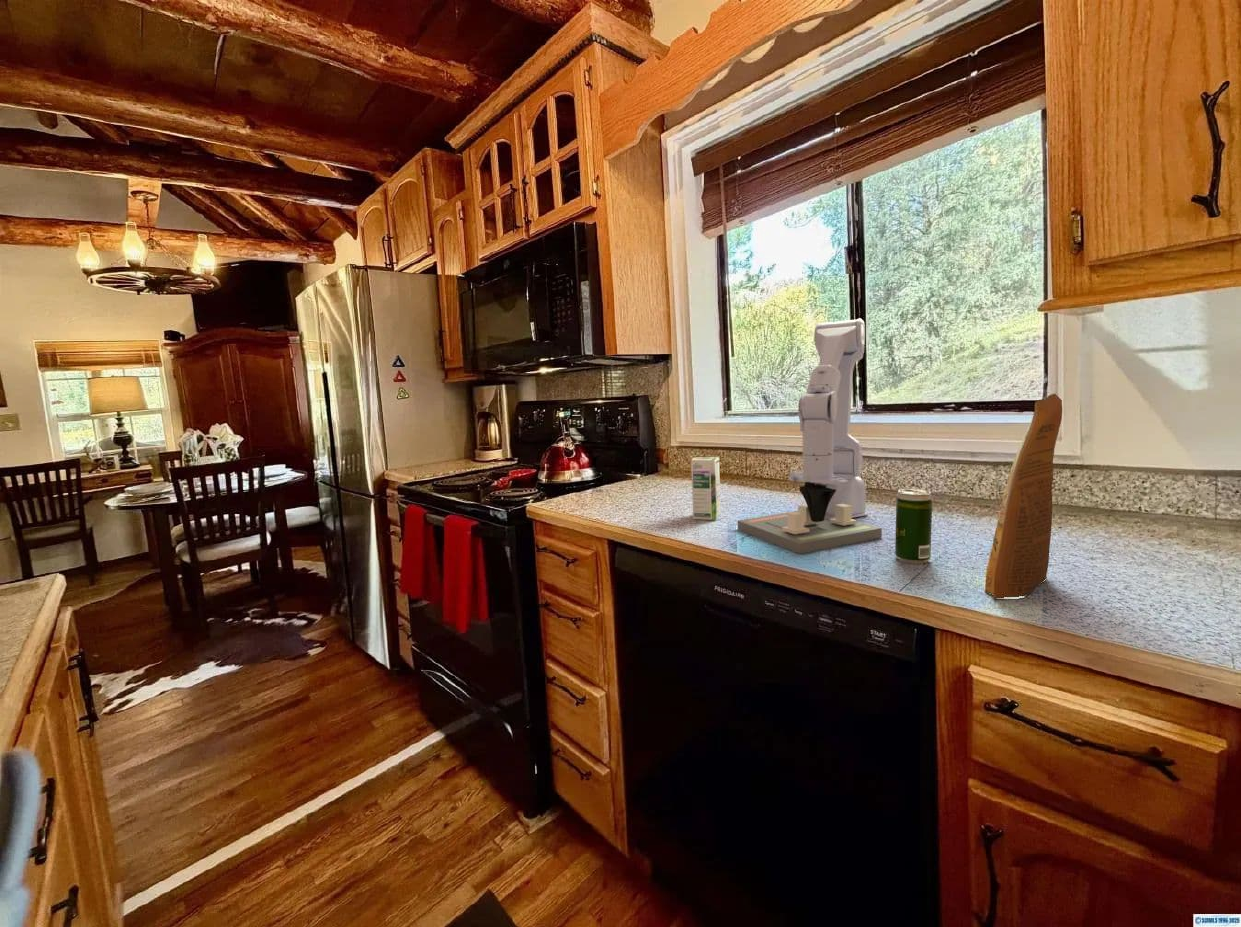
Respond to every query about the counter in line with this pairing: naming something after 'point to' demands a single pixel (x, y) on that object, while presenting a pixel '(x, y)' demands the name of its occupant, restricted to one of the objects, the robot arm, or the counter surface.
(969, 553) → the counter surface
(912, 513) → the beer can
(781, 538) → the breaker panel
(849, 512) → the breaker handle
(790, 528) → the breaker handle
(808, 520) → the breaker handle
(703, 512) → the syrup box
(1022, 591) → the pancake mix bag
